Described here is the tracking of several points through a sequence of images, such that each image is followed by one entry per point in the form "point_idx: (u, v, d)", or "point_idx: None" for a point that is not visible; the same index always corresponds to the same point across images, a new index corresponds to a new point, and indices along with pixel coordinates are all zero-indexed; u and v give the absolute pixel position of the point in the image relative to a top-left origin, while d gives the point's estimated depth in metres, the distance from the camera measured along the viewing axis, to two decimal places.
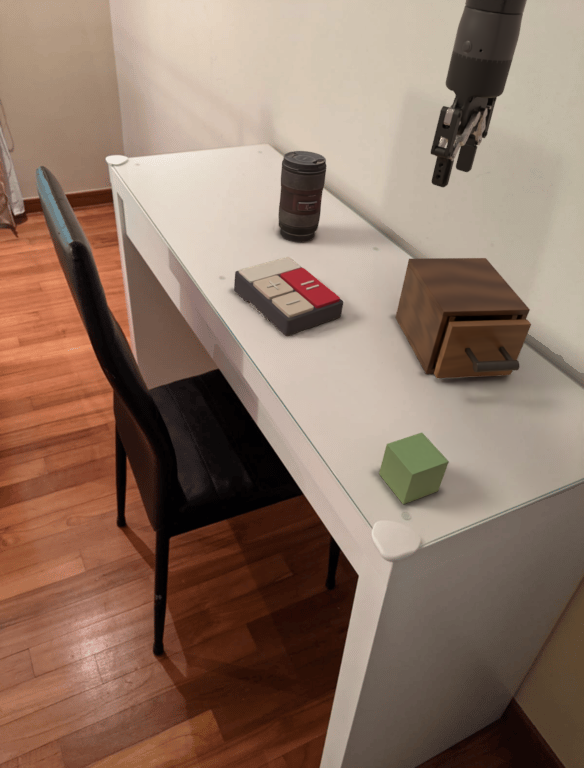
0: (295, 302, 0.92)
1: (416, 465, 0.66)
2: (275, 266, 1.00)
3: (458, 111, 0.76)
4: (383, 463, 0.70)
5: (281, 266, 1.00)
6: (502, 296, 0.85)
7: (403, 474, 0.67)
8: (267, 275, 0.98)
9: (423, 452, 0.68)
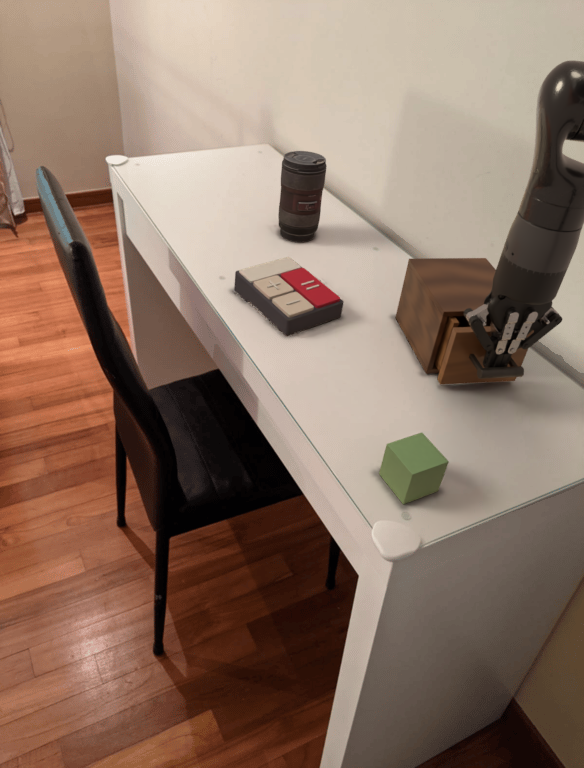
0: (295, 302, 0.92)
1: (416, 465, 0.66)
2: (275, 266, 1.00)
3: (471, 321, 0.74)
4: (383, 463, 0.70)
5: (281, 266, 1.00)
6: None
7: (403, 474, 0.67)
8: (267, 275, 0.98)
9: (423, 452, 0.68)
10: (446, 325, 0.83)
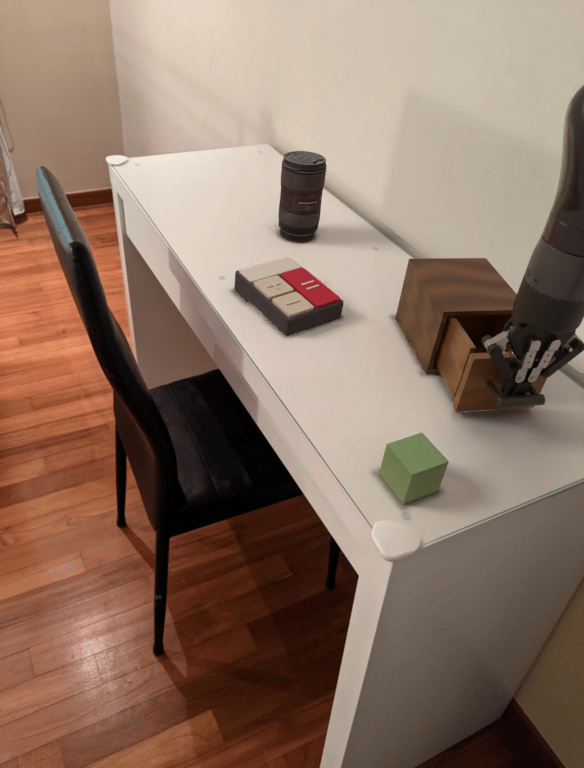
0: (295, 302, 0.92)
1: (416, 465, 0.66)
2: (275, 266, 1.00)
3: (490, 349, 0.70)
4: (383, 463, 0.70)
5: (281, 266, 1.00)
6: (502, 296, 0.85)
7: (403, 474, 0.67)
8: (267, 275, 0.98)
9: (423, 452, 0.68)
10: (462, 350, 0.79)
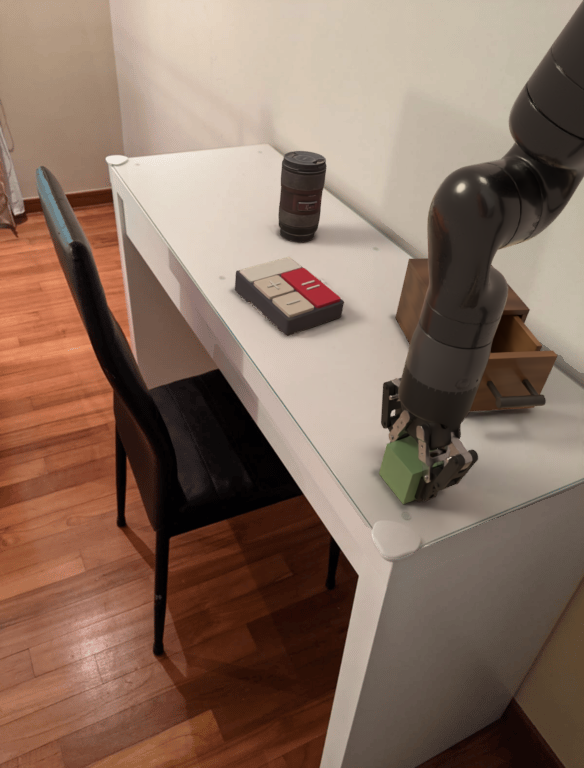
0: (295, 302, 0.92)
1: (416, 465, 0.66)
2: (276, 266, 1.00)
3: (476, 456, 0.61)
4: (383, 463, 0.70)
5: (282, 266, 1.00)
6: None
7: (403, 474, 0.67)
8: (268, 275, 0.98)
9: None
10: None
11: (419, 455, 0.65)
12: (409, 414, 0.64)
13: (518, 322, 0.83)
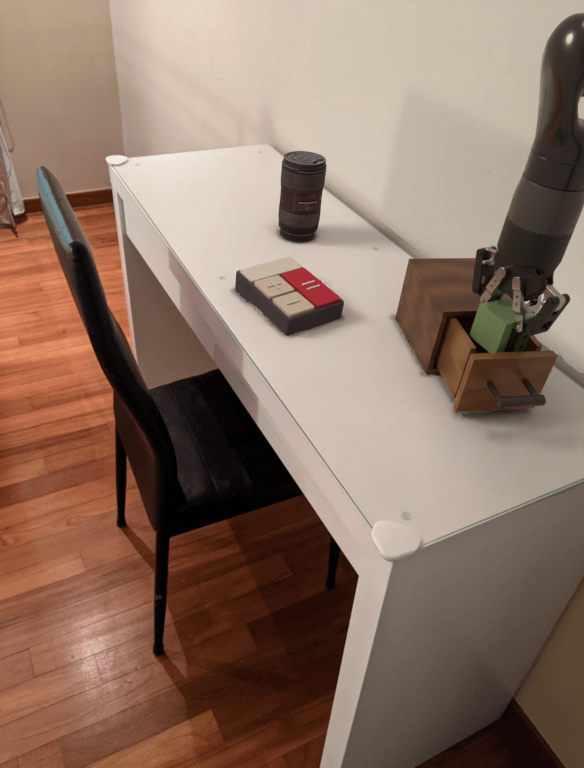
0: (296, 302, 0.92)
1: (508, 318, 0.76)
2: (276, 266, 1.00)
3: (568, 298, 0.70)
4: (474, 324, 0.79)
5: (282, 266, 1.00)
6: None
7: (496, 327, 0.76)
8: (268, 275, 0.98)
9: (512, 310, 0.77)
10: (462, 350, 0.79)
11: (513, 306, 0.74)
12: (505, 269, 0.73)
13: None
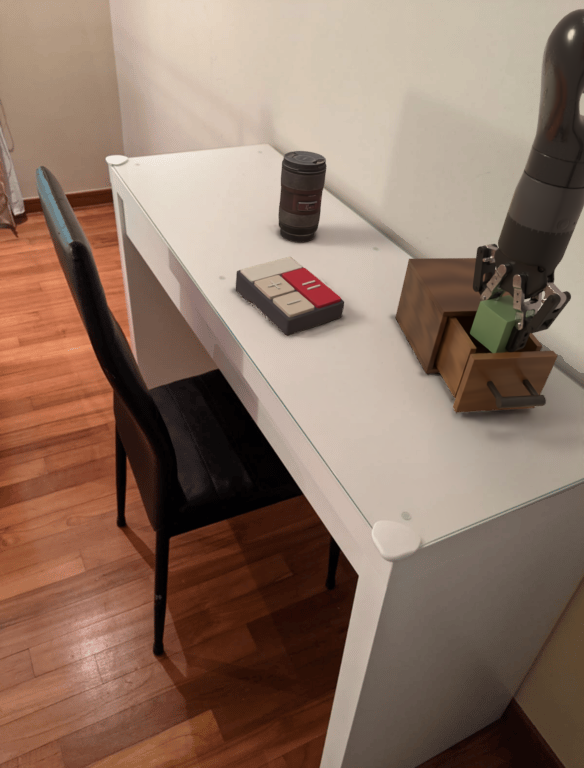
0: (296, 302, 0.92)
1: (508, 316, 0.75)
2: (277, 266, 1.00)
3: (569, 295, 0.69)
4: (475, 321, 0.79)
5: (283, 266, 1.00)
6: None
7: (496, 325, 0.76)
8: (268, 275, 0.98)
9: None
10: (462, 350, 0.79)
11: (514, 303, 0.74)
12: (506, 267, 0.73)
13: None
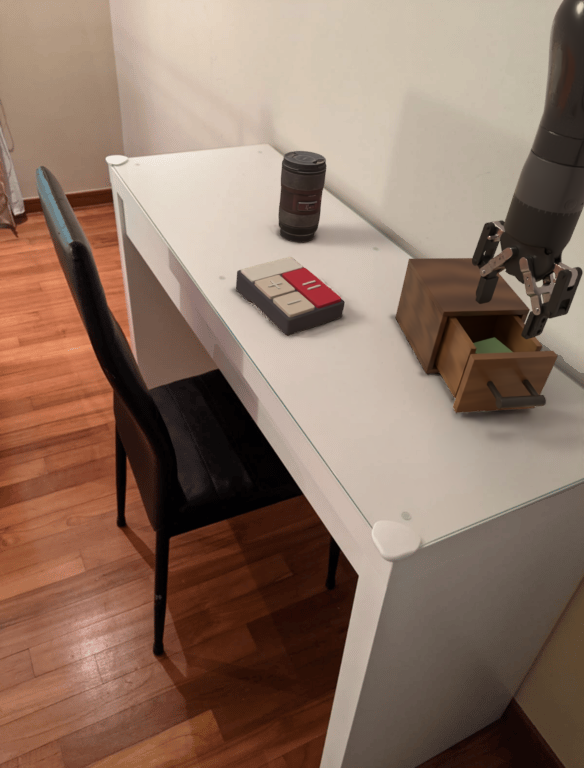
0: (296, 302, 0.92)
1: None
2: (277, 266, 1.00)
3: (580, 269, 0.67)
4: None
5: (283, 266, 1.00)
6: (502, 296, 0.85)
7: None
8: (269, 275, 0.98)
9: (498, 351, 0.81)
10: (462, 350, 0.79)
11: (526, 289, 0.71)
12: (512, 250, 0.72)
13: (518, 322, 0.83)
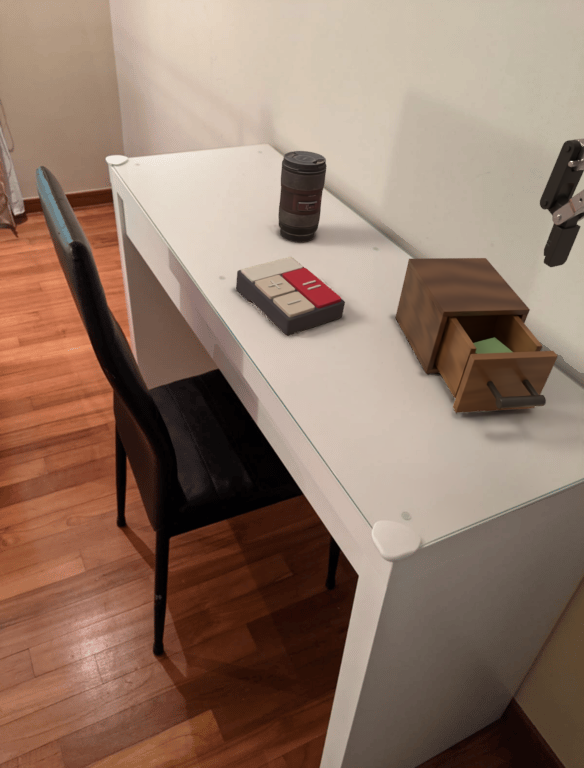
0: (296, 302, 0.92)
1: None
2: (277, 266, 1.00)
3: None
4: None
5: (283, 266, 1.00)
6: (502, 296, 0.85)
7: None
8: (269, 275, 0.98)
9: (498, 351, 0.81)
10: (462, 350, 0.79)
11: None
12: None
13: (518, 322, 0.83)
